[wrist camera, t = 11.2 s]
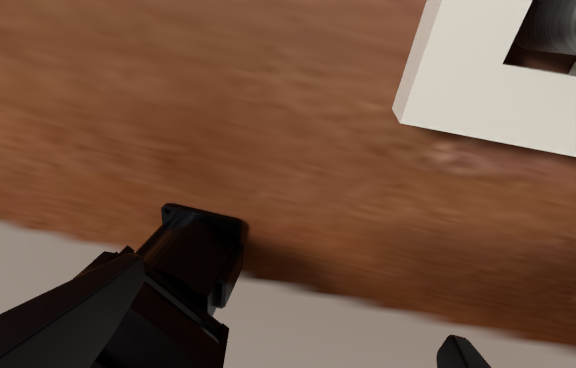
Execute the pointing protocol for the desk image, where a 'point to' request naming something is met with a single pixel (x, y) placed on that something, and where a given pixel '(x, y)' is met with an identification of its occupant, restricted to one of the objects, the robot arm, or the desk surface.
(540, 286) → the desk surface
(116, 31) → the desk surface
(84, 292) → the robot arm
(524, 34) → the metal peg
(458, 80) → the hole block
